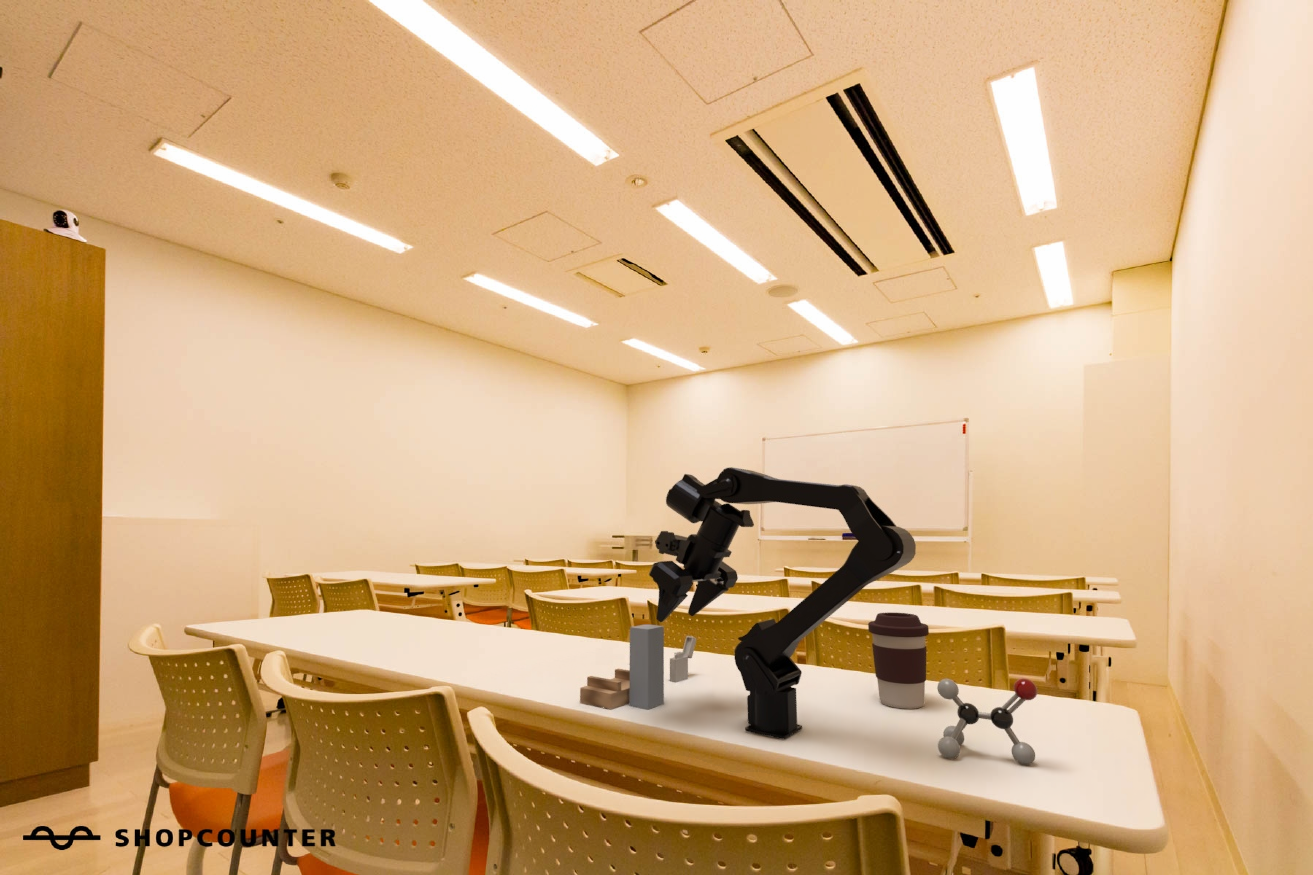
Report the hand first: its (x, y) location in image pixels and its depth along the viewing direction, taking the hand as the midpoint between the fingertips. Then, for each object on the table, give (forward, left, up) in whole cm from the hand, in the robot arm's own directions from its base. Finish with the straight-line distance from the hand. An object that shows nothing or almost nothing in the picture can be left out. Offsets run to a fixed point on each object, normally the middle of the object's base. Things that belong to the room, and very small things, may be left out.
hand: (675, 617), depth 108 cm
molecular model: (-46, -7, -15) cm, 49 cm away
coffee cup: (-29, -27, -15) cm, 42 cm away
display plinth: (+13, 0, -15) cm, 20 cm away
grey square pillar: (+6, 0, -15) cm, 16 cm away
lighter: (+12, -20, -15) cm, 28 cm away
